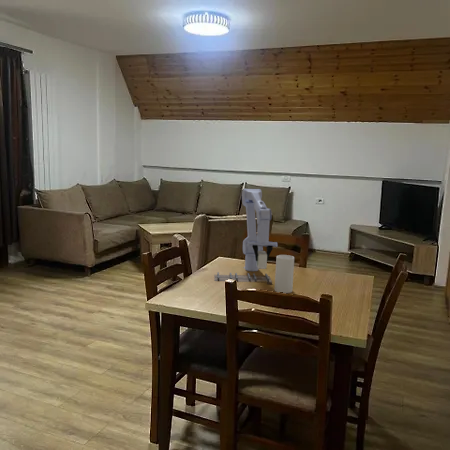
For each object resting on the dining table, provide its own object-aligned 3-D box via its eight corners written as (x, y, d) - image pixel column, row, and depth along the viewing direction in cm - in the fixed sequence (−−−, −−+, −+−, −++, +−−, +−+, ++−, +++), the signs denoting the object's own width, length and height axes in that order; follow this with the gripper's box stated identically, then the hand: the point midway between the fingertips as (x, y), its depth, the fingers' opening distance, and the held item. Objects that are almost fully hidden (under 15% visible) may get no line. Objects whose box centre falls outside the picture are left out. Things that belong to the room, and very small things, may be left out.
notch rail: (214, 276, 230) (214, 271, 230) (269, 277, 231) (269, 273, 231) (214, 282, 219) (214, 277, 219) (272, 284, 220) (272, 279, 220)
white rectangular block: (256, 264, 228) (256, 250, 227) (264, 264, 228) (265, 251, 227) (257, 268, 220) (258, 254, 219) (266, 268, 220) (267, 254, 219)
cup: (291, 293, 207) (293, 259, 204) (273, 292, 208) (275, 258, 206) (292, 288, 215) (294, 255, 212) (275, 287, 216) (277, 254, 214)
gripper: (248, 234, 217) (247, 262, 220) (279, 235, 218) (277, 263, 220) (247, 231, 224) (246, 258, 227) (276, 232, 225) (275, 259, 227)
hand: (261, 260), depth 224 cm, fingers closed on white rectangular block, 4 cm apart
